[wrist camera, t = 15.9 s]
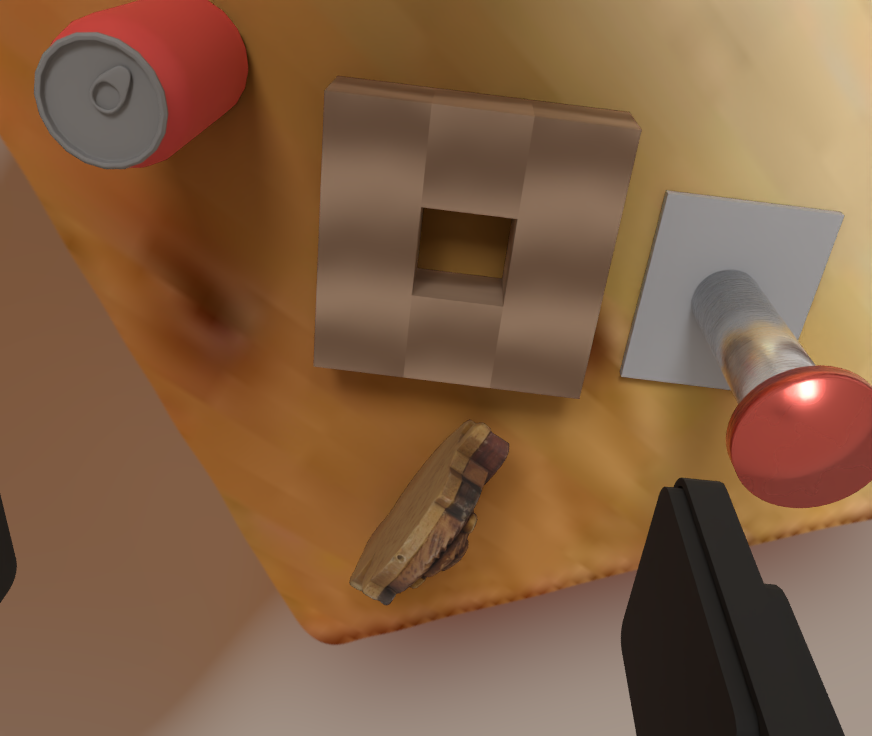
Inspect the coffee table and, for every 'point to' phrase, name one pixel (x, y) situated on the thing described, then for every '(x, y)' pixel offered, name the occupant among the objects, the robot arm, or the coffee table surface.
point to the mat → (712, 252)
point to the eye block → (471, 193)
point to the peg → (783, 401)
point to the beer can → (139, 80)
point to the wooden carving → (431, 515)
